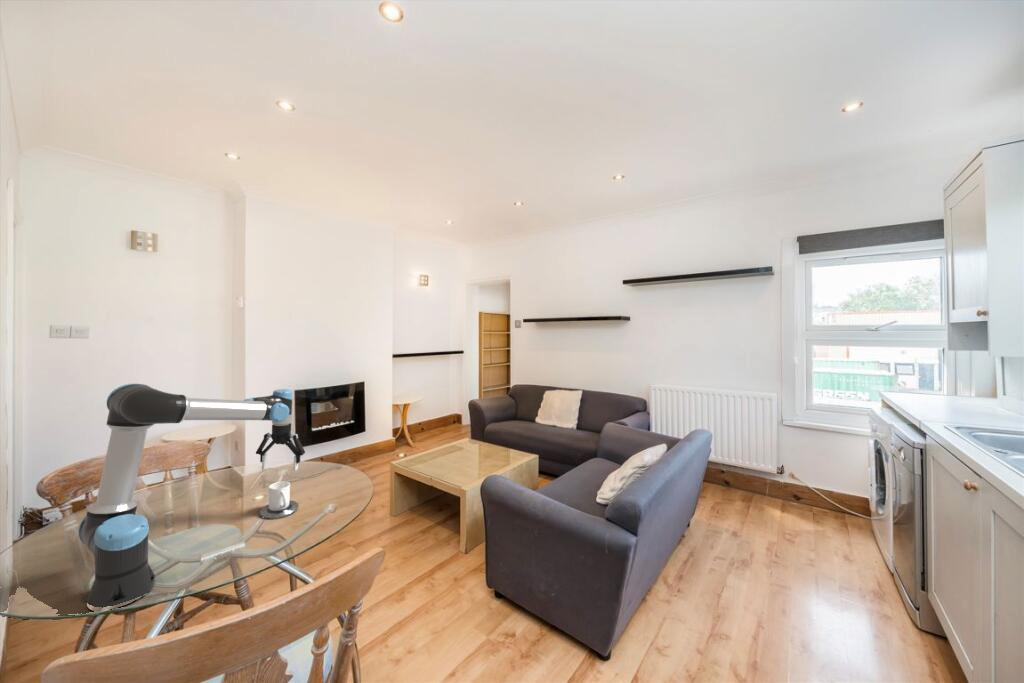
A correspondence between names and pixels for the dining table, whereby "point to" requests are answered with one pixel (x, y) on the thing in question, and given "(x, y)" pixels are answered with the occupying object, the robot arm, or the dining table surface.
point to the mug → (279, 496)
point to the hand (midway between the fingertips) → (280, 469)
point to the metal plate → (283, 513)
